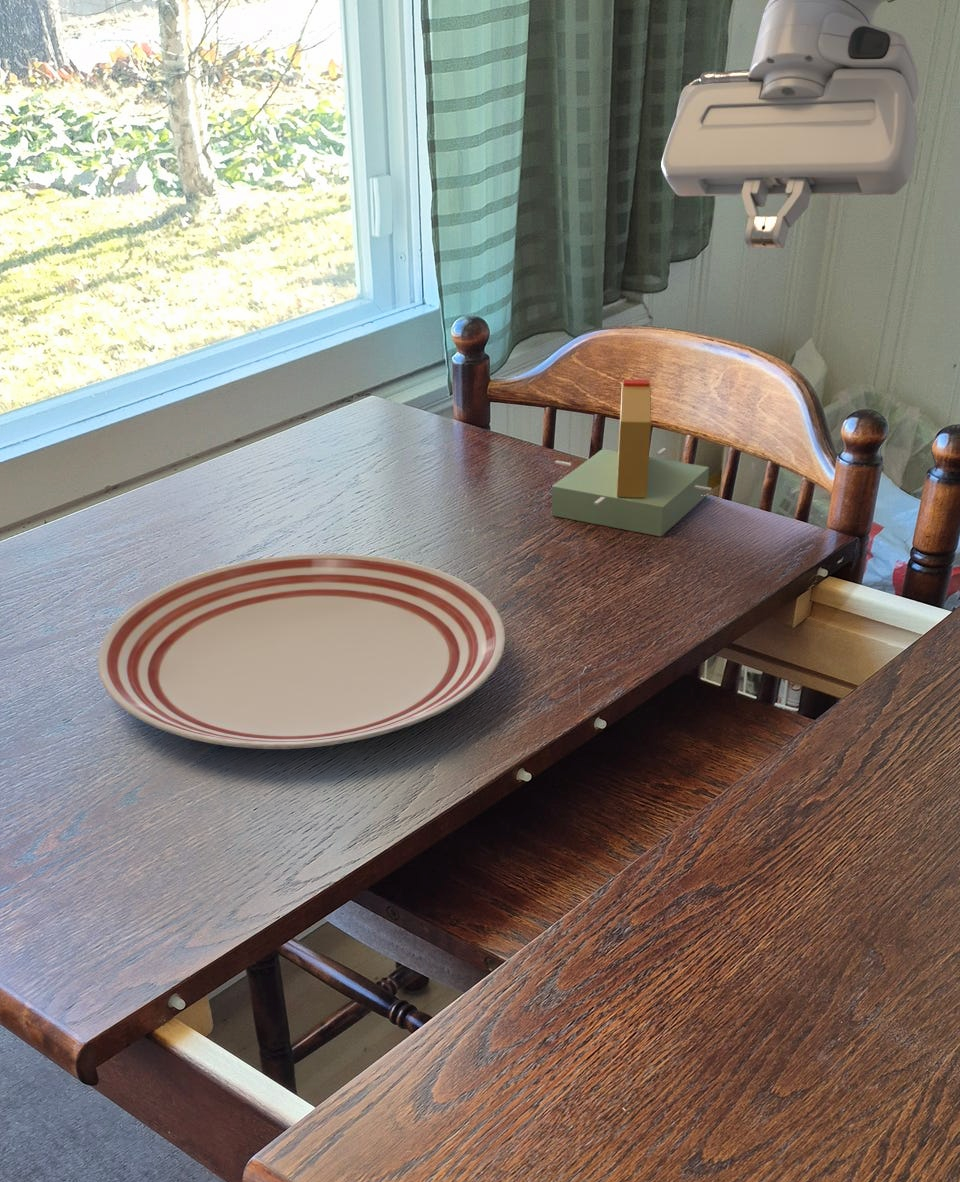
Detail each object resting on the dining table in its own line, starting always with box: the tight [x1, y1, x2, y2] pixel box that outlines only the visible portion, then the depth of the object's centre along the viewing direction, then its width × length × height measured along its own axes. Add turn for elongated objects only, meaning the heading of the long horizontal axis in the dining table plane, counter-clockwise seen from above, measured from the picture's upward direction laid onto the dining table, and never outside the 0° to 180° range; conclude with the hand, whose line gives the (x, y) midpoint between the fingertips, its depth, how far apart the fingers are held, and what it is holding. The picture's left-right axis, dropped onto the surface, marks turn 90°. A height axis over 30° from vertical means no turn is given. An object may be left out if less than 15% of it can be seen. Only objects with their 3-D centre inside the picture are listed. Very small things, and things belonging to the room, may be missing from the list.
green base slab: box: [551, 447, 713, 538], centre depth 121 cm, size 14×14×3 cm
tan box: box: [617, 379, 652, 498], centre depth 118 cm, size 10×2×6 cm, turn 175°
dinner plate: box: [97, 553, 506, 750], centre depth 98 cm, size 28×27×3 cm
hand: (763, 244), depth 116 cm, fingers closed
